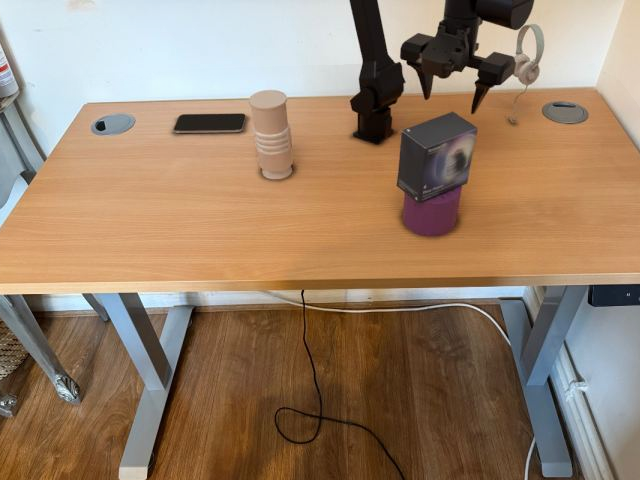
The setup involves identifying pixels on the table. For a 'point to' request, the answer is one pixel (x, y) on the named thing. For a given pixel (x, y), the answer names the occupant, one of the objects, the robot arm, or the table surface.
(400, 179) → the small box
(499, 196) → the table surface
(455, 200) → the jar
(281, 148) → the beige ribbed cylinder
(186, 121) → the smartphone
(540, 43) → the headphones
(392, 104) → the robot arm
